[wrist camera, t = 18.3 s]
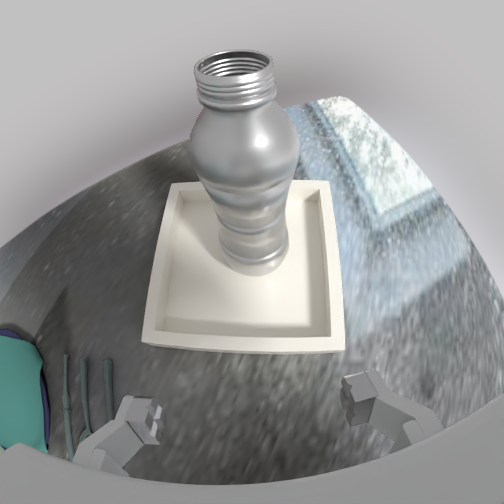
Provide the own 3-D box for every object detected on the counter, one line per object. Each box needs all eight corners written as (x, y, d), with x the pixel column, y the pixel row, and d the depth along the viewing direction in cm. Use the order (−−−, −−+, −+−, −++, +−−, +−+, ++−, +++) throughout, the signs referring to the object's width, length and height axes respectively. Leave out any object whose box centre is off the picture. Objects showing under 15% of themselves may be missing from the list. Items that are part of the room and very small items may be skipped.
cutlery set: (-13, 325, 26) (-23, 322, 24) (120, 343, 26) (110, 340, 24) (-10, 436, 18) (-19, 435, 16) (134, 502, 17) (126, 509, 15)
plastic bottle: (243, 216, 30) (215, 37, 12) (299, 243, 28) (326, 54, 10) (210, 263, 28) (133, 87, 10) (268, 295, 26) (262, 109, 8)
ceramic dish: (337, 352, 24) (345, 349, 21) (153, 345, 25) (141, 341, 22) (324, 197, 32) (328, 180, 29) (178, 198, 33) (171, 183, 30)
